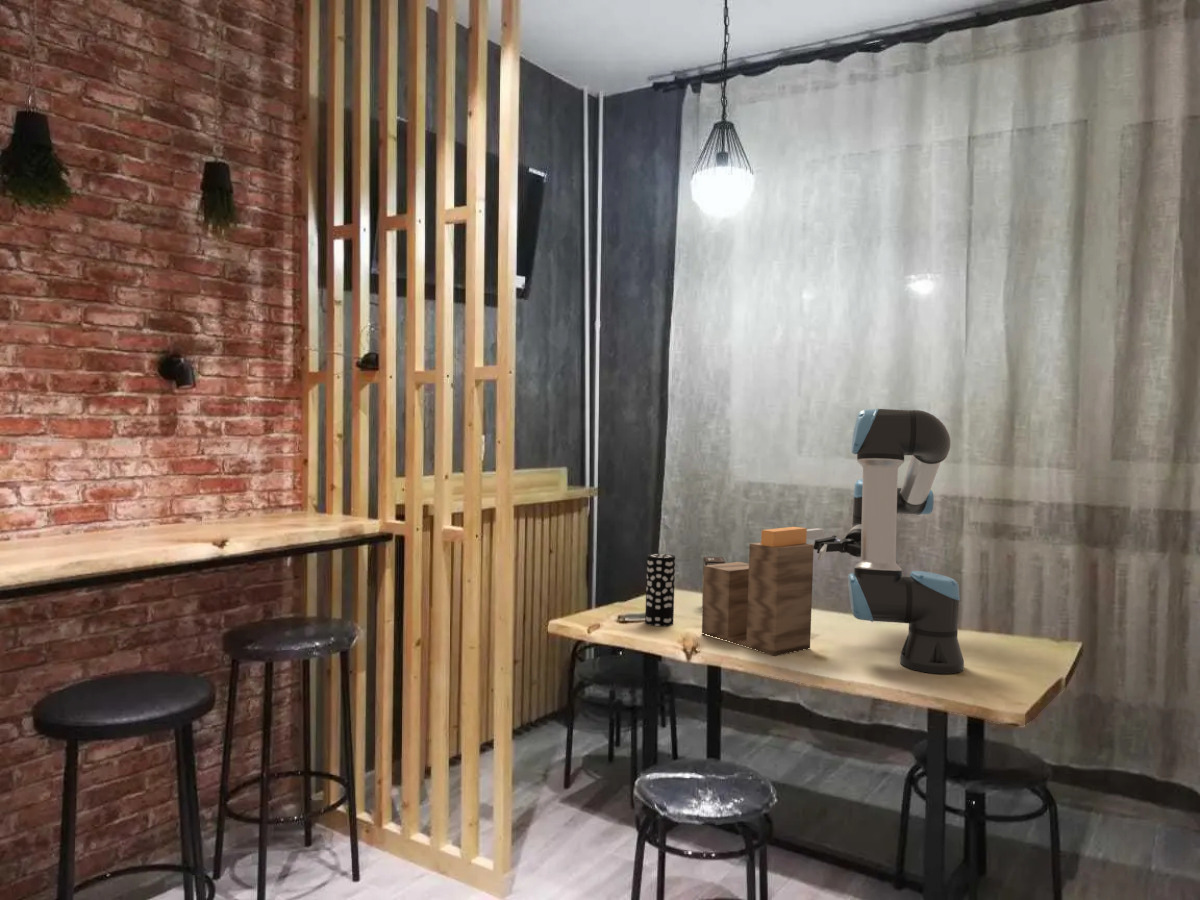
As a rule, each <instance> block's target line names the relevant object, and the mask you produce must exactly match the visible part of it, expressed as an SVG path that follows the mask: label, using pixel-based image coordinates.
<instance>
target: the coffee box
mask: <svg viewBox="0 0 1200 900" xmlns="http://www.w3.org/2000/svg"><path fill="white" fill-rule="evenodd" d="M702 563H703V564H702V565H703V567H702V568H703V569H702V570H703V571H702V581H703V580H704V566H706V565H715V564H724V563H726V561H725V559H724V558H723V556H703V562H702ZM701 599H702V600H701V601H702V603H701V604H702V607H703V595H702V598H701Z"/></svg>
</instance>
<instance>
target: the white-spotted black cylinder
mask: <svg viewBox="0 0 1200 900" xmlns="http://www.w3.org/2000/svg"><path fill="white" fill-rule="evenodd" d="M675 577H676V555H674V554H668V553H649V554H647V555H646V578H645V579H646V582H645V583H646V585H645V589H646V590H645V617H644V618H645V619H644V620H645V621H644V623H645V624H646V625H649V626H654V627H669V626H672V625H674V616H675V614H674V613H675Z"/></svg>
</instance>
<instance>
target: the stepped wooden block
mask: <svg viewBox="0 0 1200 900" xmlns="http://www.w3.org/2000/svg"><path fill="white" fill-rule="evenodd" d="M814 551H815V549H814V544H811V543H807V542H806V543H803V544H794V545H786V546H778V547H770V546H764V545H761V541H759V542H753V543H752V542H751V543H749V553H748V563H746V562H741V561H735V562H725V563H724V564H715V565H706V566H704V580H703V579H702V596H703V606H702V618H701V619H702V621H701V622H702V623H701V634H702V633H704V634H707V635H710V636H713V637H717V638H720V639H723V640H727V641H730V642H733V643H736V644H739V645H743V646H746V647H749V648H752V649H756V650H758V651H757V652H759V651H761V652H760V653H762V652H764V653H763V654H766V653H767V654H766V655H769V654H770V656H772V655H773V657H776V656H777V657H778V656H783V655H787V654H790V652H792V653H795V652H794V651H797V652H800V651H799V650H802V651H804V650H803V649H806V650H809V649H808V648H810V649H811V630H812V607H813V606H812V605H813V603H812V602H813V601H812V600H813V576H814V575H813V573H814V572H813V571H814V570H813V569H814ZM739 645H738V646H739ZM746 647H745V648H746ZM749 648H748V649H749ZM752 649H751V650H752ZM756 650H755V651H756ZM786 653H787V654H786ZM782 654H783V655H782Z"/></svg>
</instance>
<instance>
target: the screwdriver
mask: <svg viewBox="0 0 1200 900" xmlns="http://www.w3.org/2000/svg"><path fill="white" fill-rule="evenodd" d="M760 533H761V537H760V542H761V545H764V546H770V547H778V546H786V545H794V544H803V543H806V544H807V540H809V539H821V538H824V537H825V536H824V535H825V533H826V531H825V529H824V528H817V527H816V528H806V527H800V526H799V527H798V526H789V527H778V528H776V527H775V528H767V529H761V532H760Z"/></svg>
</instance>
